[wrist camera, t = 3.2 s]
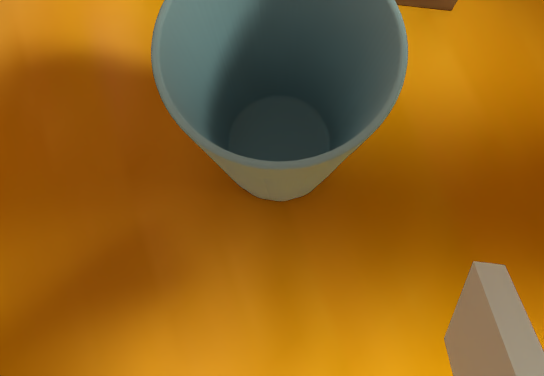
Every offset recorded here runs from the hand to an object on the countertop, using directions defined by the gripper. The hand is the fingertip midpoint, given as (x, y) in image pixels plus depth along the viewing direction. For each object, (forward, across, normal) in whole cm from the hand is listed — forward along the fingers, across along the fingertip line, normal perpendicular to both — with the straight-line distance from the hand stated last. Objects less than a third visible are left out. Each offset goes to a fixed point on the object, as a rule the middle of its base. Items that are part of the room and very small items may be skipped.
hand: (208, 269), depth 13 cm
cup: (+13, +1, -3) cm, 13 cm away
